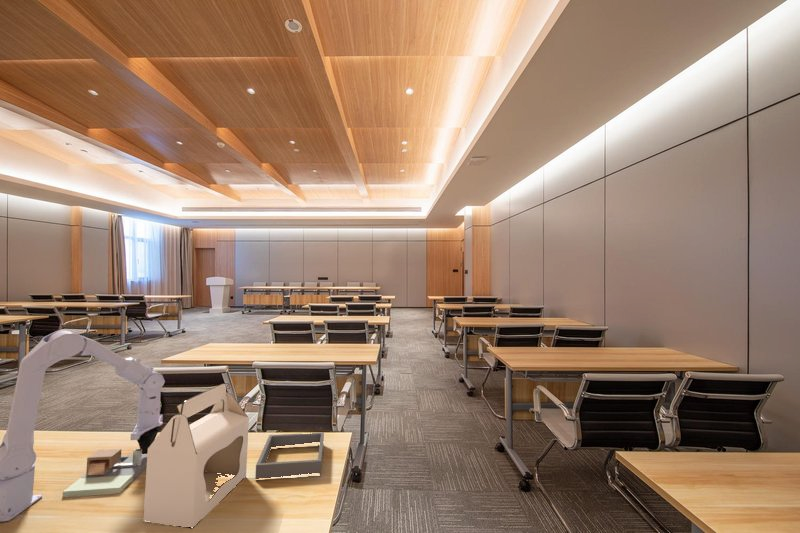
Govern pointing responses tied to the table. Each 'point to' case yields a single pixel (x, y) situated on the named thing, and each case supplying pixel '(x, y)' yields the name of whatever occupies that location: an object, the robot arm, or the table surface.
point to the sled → (103, 466)
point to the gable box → (196, 459)
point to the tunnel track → (110, 481)
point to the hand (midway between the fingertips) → (146, 452)
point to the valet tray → (291, 466)
